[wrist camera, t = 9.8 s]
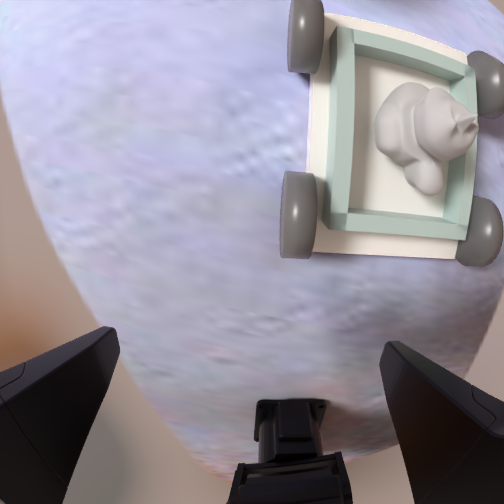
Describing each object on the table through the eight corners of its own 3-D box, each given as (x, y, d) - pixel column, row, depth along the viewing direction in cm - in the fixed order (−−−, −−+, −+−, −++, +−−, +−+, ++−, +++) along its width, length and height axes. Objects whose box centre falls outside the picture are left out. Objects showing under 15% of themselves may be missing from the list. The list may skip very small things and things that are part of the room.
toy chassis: (457, 253, 20) (493, 277, 15) (278, 243, 20) (283, 271, 16) (469, 63, 15) (507, 52, 10) (288, 17, 15) (295, -18, 10)
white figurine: (429, 92, 15) (507, 73, 7) (438, 187, 17) (517, 211, 10) (357, 87, 15) (418, 50, 8) (368, 190, 17) (435, 218, 10)
